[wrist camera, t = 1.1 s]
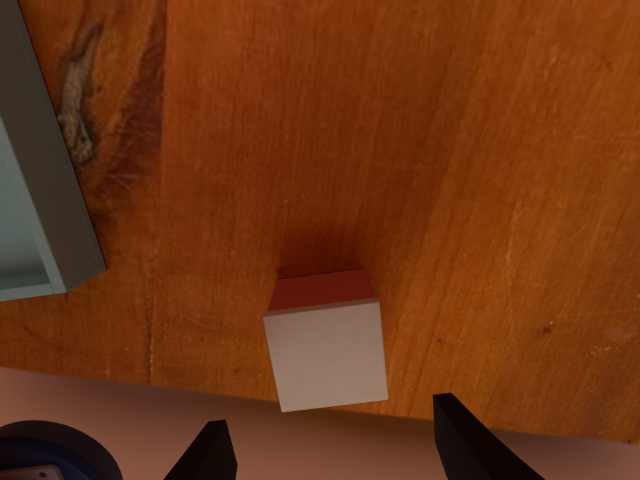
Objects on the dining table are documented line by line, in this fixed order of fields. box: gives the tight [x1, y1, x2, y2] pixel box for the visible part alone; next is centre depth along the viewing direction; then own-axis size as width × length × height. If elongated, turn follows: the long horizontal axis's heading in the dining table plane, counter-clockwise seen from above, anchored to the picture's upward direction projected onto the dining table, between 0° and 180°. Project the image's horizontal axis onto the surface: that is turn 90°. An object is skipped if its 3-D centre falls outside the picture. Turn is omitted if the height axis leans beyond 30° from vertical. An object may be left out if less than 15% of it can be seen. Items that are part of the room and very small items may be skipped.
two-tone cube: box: [262, 269, 388, 412], centre depth 17 cm, size 5×5×4 cm
